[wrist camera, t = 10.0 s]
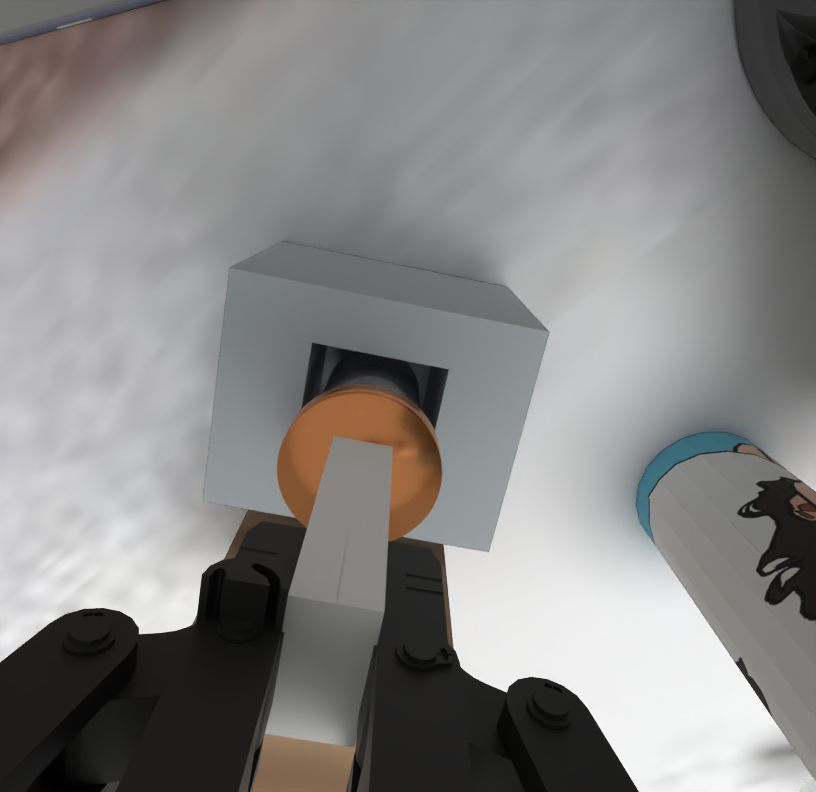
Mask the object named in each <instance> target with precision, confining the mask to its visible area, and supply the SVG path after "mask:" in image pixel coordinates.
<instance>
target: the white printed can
mask: <svg viewBox="0 0 816 792" xmlns="http://www.w3.org/2000/svg"><path fill="white" fill-rule="evenodd" d="M636 507H637V511H638V516H639V520H640V523H641V525H642V526H643V528H644V529H645V531H646V532H647V534H648V535H649V537H650V538H651V539H652V541H653V542H654V544H655V545H656V547H657V548H658V550H659V551H660V553H661V554H662V556H663V557H664V559H665V560H666V562H667V563H668V565H669V566H670V567H671V569H672V570H673V572H674V573H675V575H676V576H677V578H678V579H679V581H680V582H681V584H682V585H683V587H684V588H685V590H686V591H687V592H688V594H689V595H690V597H691V598H692V600H693V601H694V603H695V604H696V606H697V607H698V609H699V610H700V612H701V613H702V615H703V616H704V618H705V619H706V620H707V622H708V623H709V625H710V626H711V628H712V629H713V631H714V632H715V634H716V635H717V637H718V638H719V640H720V641H721V643H722V644H723V646H724V647H725V648H726V650H727V651H728V653H729V654H730V656H731V657H732V659H733V660H734V662H735V663H736V665H737V666H738V668H739V669H740V671H741V672H742V674H743V675H744V676H745V678H746V679H747V681H748V682H749V684H750V685H751V687H752V688H753V690H754V691H755V693H756V694H757V696H758V697H759V699H760V700H761V701H762V703H763V704H764V706H765V707H766V709H767V710H768V712H769V713H770V715H771V716H772V718H773V719H774V721H775V722H776V724H777V725H778V727H779V728H780V729H781V731H782V732H783V734H784V735H785V737H786V738H787V740H788V741H789V743H790V744H791V746H792V747H793V749H794V750H795V752H796V753H797V755H798V756H799V757H800V759H801V760H802V762H803V763H804V765H805V766H806V768H807V769H808V771H809V772H810V774H811V775H812V777H813V778H814V780H815V781H816V492H815V491H814V490H813V489H811V488H810V487H809V486H807V485H806V484H805V483H803V482H802V481H801V480H800V479H798V478H797V477H796V476H794V475H793V474H792V473H790V472H789V471H788V470H786V469H785V468H784V467H782V466H781V465H780V464H779V463H777V462H776V461H775V460H773V459H772V458H771V457H769V456H768V455H767V454H765V453H764V452H763V451H762V450H760V449H759V448H758V447H756V446H755V445H754V444H752V443H751V442H750V441H748V440H747V439H745V438H742V437H739V436H736V435H733V434H730V433H727V432H704V433H700V434H696V435H693V436H689V437H686V438H682V439H681V440H679V441H677V442H676V443H674V444H672V445H671V446H669V447H667V448H666V449H664V450H663V451H662V452H661V453H660V454H659V455H658V456H657V457H656V458H655V459H654V460H653V461H652V462H651V463H650V465H649V466H648V467H647V469H646V471H645V473H644V475H643V477H642V479H641V481H640V483H639V486H638V493H637V501H636Z"/></svg>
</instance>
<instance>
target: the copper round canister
mask: <svg viewBox="0 0 816 792" xmlns="http://www.w3.org/2000/svg"><path fill="white" fill-rule="evenodd" d="M333 436H337V437H343V438H348V439H353V440H359V441H364V442H370V443H375V444H380V445H386V446H391V447H393V455H392V475H391V494H390V514H389V533H388V541H393V540H396V539H398V538H400V537H402V536H404V535H406V534H407V533H409V532H410V531H412V530H413V529H415V528H416V527H417V526H418V525H419V524H420V523H421V522H422V521H423V520H424V519H425V518H426V517H427V515H428V514H429V513H430V511H431V510H432V508H433V506H434V504H435V502H436V500H437V498H438V495H439V492H440V488H441V482H442V463H441V455H440V447H439V442H438V438H437V435H436V432H435V430H434V428H433V426H432V424H431V422H430V421H429V419H428V418H427V416H426V415H425V414H424V413H423V411H422V410H421V409H420V396H419V385H418V381H417V378H416V375H415V373H414V371H413V370H412V368H411V367H410V365H409V364H408V363H407V362H406V361H403V360H398V359H393V358H388V357H383V356H378V355H373V354H368V353H363V352H357V351H354V352H352V353H350V354H348V355H346V356H345V357H344V358H342V359H341V360H340V361H339V362H338V363H337V364H336V366H335V367H334V368H333V370H332V372H331V374H330V376H329V379H328V381H327V384H326V386H325V389H324V391H323V393H322V394H320V395H318V396H316V397H315V398H314V399H312V400H311V401H309V402H308V403H307V404H306V405H305V406H304V407H303V408H302V409H301V410H300V411H299V413H298V414H297V415H296V417H295V418H294V420H293V422H292V423H291V425H290V427H289V429H288V431H287V433H286V435H285V437H284V439H283V442H282V445H281V447H280V450H279V455H278V459H277V479H278V484H279V488H280V491H281V494H282V497H283V499H284V501H285V503H286V505H287V507H288V508H289V509H290V511H291V512H292V514H293V515H294V516H295V517H296V518H297V519H298V521H299V522H300V523H302V524H303V525H304V526H305V527H306V528H307V527H308V524H309V520H310V517H311V513H312V510H313V506H314V503H315V499H316V496H317V492H318V489H319V485H320V482H321V478H322V475H323V471H324V468H325V464H326V461H327V457H328V454H329V450H330V447H331V443H332V440H333Z"/></svg>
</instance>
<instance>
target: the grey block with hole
mask: <svg viewBox="0 0 816 792" xmlns="http://www.w3.org/2000/svg"><path fill="white" fill-rule="evenodd" d="M548 336H549V331H548V330H547V329H546V328H545V327H544V326H543V325H542V323H541V322H540V321H539V320H538V319H537V318H536V317H535V316H534V315H533V314H532V313H531V312H530V311H529V310H528V308H527V307H526V306H525V305H524V304H523V303H522V302H521V301H520V300H519V299H518V298H517V297H516V296H515V294H514V293H513V292H512V291H511V290H510V289H509V288H508V287H504V286H499V285H495V284H490V283H485V282H480V281H475V280H470V279H465V278H460V277H455V276H451V275H446V274H441V273H436V272H431V271H426V270H421V269H416V268H411V267H407V266H402V265H397V264H392V263H387V262H382V261H377V260H372V259H367V258H362V257H358V256H353V255H348V254H343V253H338V252H333V251H328V250H323V249H318V248H314V247H309V246H304V245H299V244H294V243H289V242H284V241H283V242H281V243H279V244H277V245H275V246H273V247H271V248H269V249H267V250H265V251H263V252H261V253H259V254H257V255H254V256H252V257H250V258H248V259H246V260H244V261H242V262H240V263H238V264H236V265H234V266H232V267H230V268H229V276H228V284H227V293H226V302H225V310H224V319H223V328H222V336H221V345H220V354H219V362H218V371H217V380H216V388H215V397H214V406H213V414H212V423H211V432H210V440H209V449H208V458H207V467H206V475H205V484H204V493H203V501H204V502H210V503H215V504H221V505H227V506H232V507H238V508H243V509H249V510H255V511H260V512H266V513H272V514H277V515H283V516H288V517H294V518H296V517H295V516H294V515H293V514H292V512H291V511H290V509H289V508H288V507H287V505H286V503H285V501H284V499H283V497H282V494H281V491H280V488H279V484H278V479H277V459H278V455H279V450H280V447H281V445H282V442H283V439H284V437H285V435H286V433H287V431H288V429H289V427H290V425H291V423H292V422H293V420H294V418H295V417H296V415H297V414H298V413H299V411H300V410H301V409H302V408H303V407H304V406H305V405H306V404H307V403H308V402H309V401H311V400H312V399H314V398H315V397H316V396H318V395H320V394H322V393H323V391H324V389H325V386H326V384H327V381H328V379H329V376H330V374H331V372H332V370H333V368H334V367H335V366H336V364H337V363H338V362H339V361H340V360H341V359H342V358H344V357H345V356H346V355H348V354H350V353H352V352H354V351H357V352H363V353H368V354H373V355H378V356H383V357H388V358H393V359H398V360H403V361H406V362H407V363H408V364H409V365H410V367H411V368H412V370H413V371H414V373H415V375H416V378H417V381H418V385H419V396H420V409H421V410H422V411H423V413H424V414H425V415H426V416H427V418H428V419H429V421H430V422H431V424H432V426H433V428H434V430H435V432H436V435H437V438H438V442H439V447H440V455H441V463H442V482H441V488H440V492H439V495H438V498H437V500H436V502H435V504H434V506H433V508H432V510H431V511H430V513H429V514H428V515H427V517H426V518H425V519H424V520H423V521H422V522H421V523H420V524H419V525H418V526H417V527H416V528H415V529H413V530H412V531H410V532H409V533H407V534H406V535H404V536H402V537H406V538H412V539H417V540H423V541H429V542H434V543H440V544H445V545H451V546H457V547H462V548H468V549H473V550H479V551H485V552H489V550H490V546H491V543H492V539H493V535H494V532H495V528H496V525H497V521H498V517H499V514H500V510H501V506H502V503H503V499H504V495H505V492H506V488H507V485H508V481H509V477H510V474H511V470H512V466H513V463H514V459H515V455H516V452H517V448H518V445H519V441H520V437H521V434H522V430H523V426H524V423H525V419H526V416H527V412H528V408H529V405H530V401H531V397H532V394H533V390H534V386H535V383H536V379H537V376H538V372H539V368H540V365H541V361H542V357H543V354H544V350H545V347H546V343H547V339H548Z"/></svg>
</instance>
